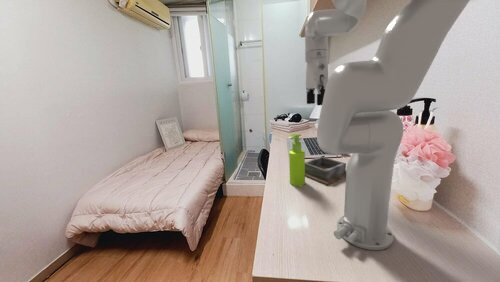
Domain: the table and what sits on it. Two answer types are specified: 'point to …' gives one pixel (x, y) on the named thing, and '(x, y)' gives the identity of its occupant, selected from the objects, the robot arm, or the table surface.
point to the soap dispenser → (297, 162)
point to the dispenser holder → (325, 170)
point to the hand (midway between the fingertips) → (315, 104)
